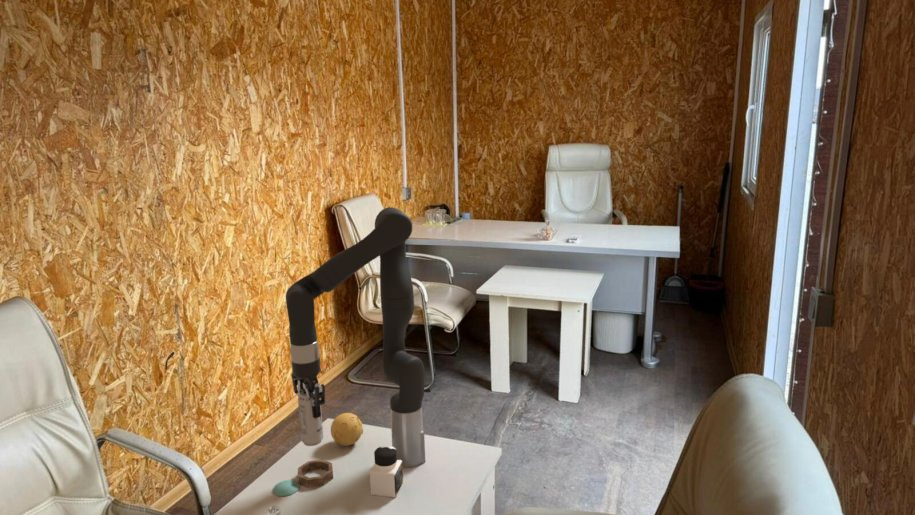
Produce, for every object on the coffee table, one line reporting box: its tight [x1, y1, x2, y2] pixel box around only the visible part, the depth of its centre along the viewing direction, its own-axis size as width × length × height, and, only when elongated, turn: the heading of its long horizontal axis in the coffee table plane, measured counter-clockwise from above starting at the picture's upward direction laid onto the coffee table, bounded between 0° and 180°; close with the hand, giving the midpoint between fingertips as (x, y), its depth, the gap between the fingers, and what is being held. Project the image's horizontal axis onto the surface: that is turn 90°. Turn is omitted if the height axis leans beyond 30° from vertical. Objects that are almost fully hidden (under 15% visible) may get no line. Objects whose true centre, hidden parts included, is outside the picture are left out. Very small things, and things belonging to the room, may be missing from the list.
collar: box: [297, 459, 334, 489], centre depth 174 cm, size 10×10×2 cm
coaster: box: [272, 479, 300, 497], centre depth 169 cm, size 7×7×1 cm
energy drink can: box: [297, 391, 324, 447], centre depth 170 cm, size 6×6×15 cm
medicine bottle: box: [369, 445, 404, 498], centre depth 167 cm, size 7×7×12 cm
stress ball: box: [330, 412, 364, 447], centre depth 190 cm, size 10×10×10 cm
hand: (310, 412), depth 170 cm, fingers closed on energy drink can, 6 cm apart
